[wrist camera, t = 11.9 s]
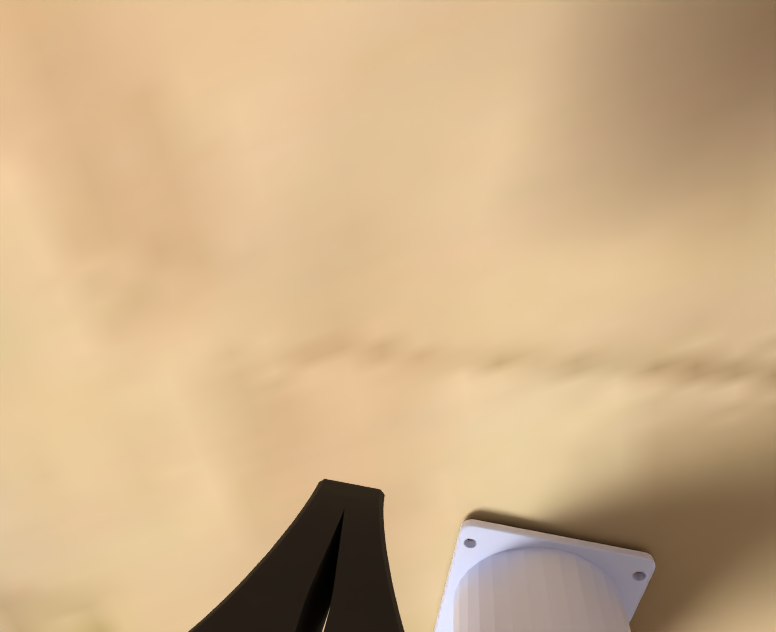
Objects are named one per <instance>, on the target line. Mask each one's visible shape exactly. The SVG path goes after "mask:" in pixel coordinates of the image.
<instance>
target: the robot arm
mask: <svg viewBox="0 0 776 632" xmlns="http://www.w3.org/2000/svg"><path fill="white" fill-rule="evenodd" d="M383 506H384V493H383V492H382V491H381V490H380V489H375V488H370V487H364V486H359V485H354V484H349V483H344V482H338V481H333V480H328V479H324V480H322V481H320V482H319V483H318V485H317V487H316V489H315V490H314V492H313V494H312V495H311V497H310V498H309V500H308V501H307V503H306V504H305V506H304V507H303V509H302V510H301V512H300V513H299V514H298V516H297V517H296V518H295V520H294V521H293V522H292V524H291V525H290V526H289V528H288V529H287V530H286V531H285V533H284V534H283V535H282V536H281V537H280V539H279V540H278V541H277V542H276V544H275V545H274V546H273V547H272V549H271V550H270V551H269V552H268V553H267V554H266V556H265V557H264V558H263V559H262V560H261V561H260V562H259V563H258V564H257V565H256V567H255V568H254V569H253V570H252V571H251V572H250V573H249V574H248V575H247V576H246V578H245V579H244V580H243V581H242V582H241V583H240V584H239V585H238V586H237V587H236V588H235V589H234V590H233V591H232V592H231V593H230V594H229V595H228V596H227V597H226V598H225V599H224V600H223V601H222V602H221V603H220V604H219V605H218V606H217V607H216V608H214V609H213V610H212V611H211V612H210V613H209V614H208V615H207V616H206V617H205V618H204V619H203V620H201V621H200V622H199V623H198V624H197V625H196V626H194V627H193V628H192V629H191V630H190V631H189V632H322V630H323V627H324V624H325V621H326V618H327V621H326V625H325V629H324V632H404V629H403V625H402V621H401V618H400V614H399V610H398V606H397V602H396V597H395V593H394V588H393V584H392V579H391V573H390V568H389V562H388V556H387V550H386V542H385V532H384V519H383ZM466 539H473V541H468V540H466ZM655 567H656V565H655V562H654V559H653V557H652V556H651V555H650V554H648V553H645V552H641V551H636V550H631V549H625V548H620V547H615V546H610V545H605V544H599V543H594V542H589V541H584V540H579V539H573V538H568V537H563V536H558V535H553V534H547V533H542V532H537V531H532V530H527V529H521V528H516V527H511V526H506V525H501V524H495V523H490V522H485V521H480V520H474V519H469V520H466V521H464V522H463V523H462V524H461V526H460V530H459V534H458V538H457V542H456V546H455V550H454V554H453V558H452V561H451V565H450V569H449V573H448V577H447V581H446V585H445V589H444V593H443V597H442V601H441V604H440V608H439V612H438V616H437V620H436V624H435V628H434V632H631V630H630V626H629V623H630V621H631V619H632V617H633V615H634V613H635V610H636V608H637V606H638V604H639V602H640V600H641V598H642V596H643V594H644V592H645V589H646V587H647V585H648V583H649V581H650V579H651V577H652V575H653V573H654V571H655ZM636 572H639V573H636ZM329 608H330V610H329ZM328 611H329V614H328ZM327 615H328V617H327Z"/></svg>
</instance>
